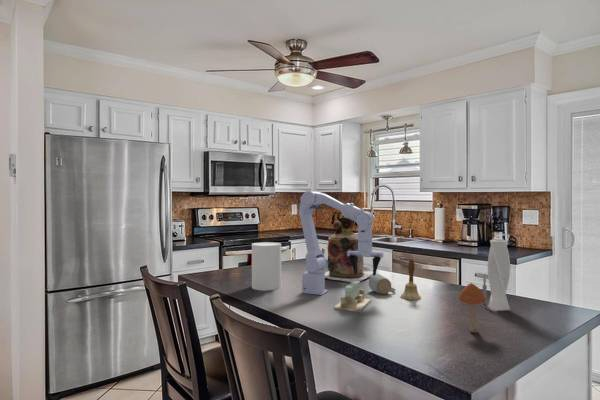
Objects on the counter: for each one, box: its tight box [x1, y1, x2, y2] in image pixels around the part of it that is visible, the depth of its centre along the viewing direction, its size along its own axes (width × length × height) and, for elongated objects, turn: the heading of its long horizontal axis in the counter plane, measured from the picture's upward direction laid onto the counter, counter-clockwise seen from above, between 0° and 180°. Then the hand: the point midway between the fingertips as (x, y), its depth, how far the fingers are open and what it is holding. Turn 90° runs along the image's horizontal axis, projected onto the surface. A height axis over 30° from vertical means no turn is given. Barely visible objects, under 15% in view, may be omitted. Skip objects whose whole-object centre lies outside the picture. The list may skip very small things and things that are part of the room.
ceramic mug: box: [368, 273, 396, 295], centre depth 173 cm, size 11×8×8 cm
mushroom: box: [457, 282, 486, 333], centre depth 123 cm, size 8×8×15 cm
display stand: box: [333, 288, 372, 313], centre depth 154 cm, size 10×16×4 cm, turn 157°
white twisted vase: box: [481, 233, 511, 312], centre depth 148 cm, size 8×8×28 cm
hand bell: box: [400, 258, 422, 301], centre depth 164 cm, size 8×8×16 cm
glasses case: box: [344, 281, 361, 298], centre depth 153 cm, size 2×12×5 cm, turn 157°
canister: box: [251, 241, 282, 292], centre depth 184 cm, size 14×14×20 cm
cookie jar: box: [325, 216, 373, 284], centre depth 207 cm, size 25×25×32 cm
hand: (365, 274), depth 163 cm, fingers open, 7 cm apart
